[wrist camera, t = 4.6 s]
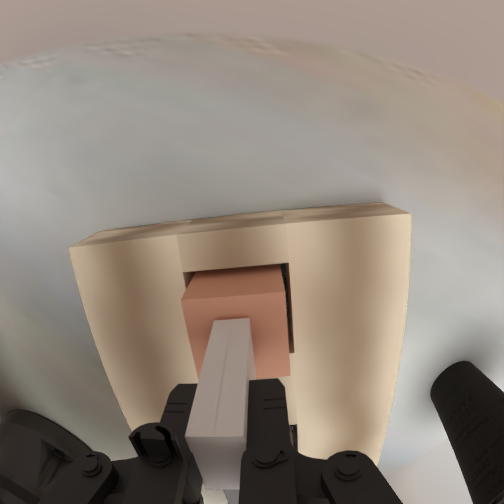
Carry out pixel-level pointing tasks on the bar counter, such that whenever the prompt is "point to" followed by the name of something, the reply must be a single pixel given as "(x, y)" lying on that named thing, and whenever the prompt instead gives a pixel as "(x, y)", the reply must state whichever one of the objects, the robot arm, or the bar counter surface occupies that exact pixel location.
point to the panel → (299, 311)
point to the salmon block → (241, 313)
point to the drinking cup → (474, 428)
